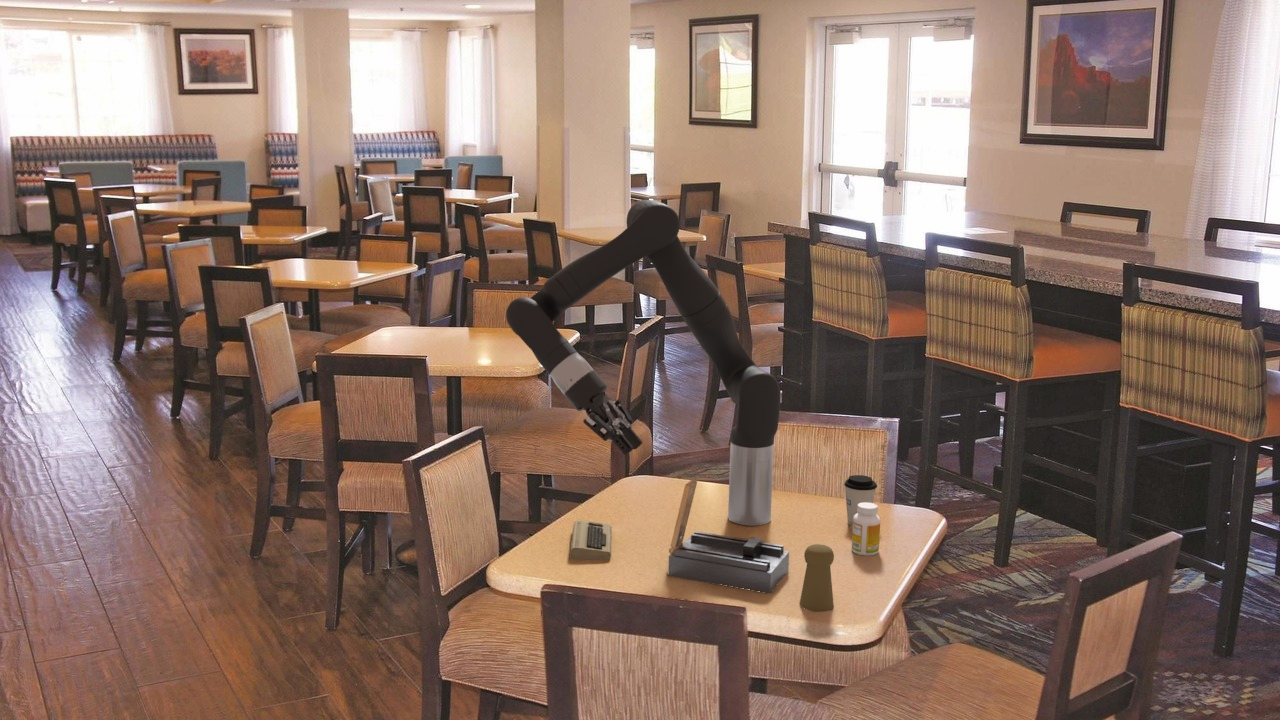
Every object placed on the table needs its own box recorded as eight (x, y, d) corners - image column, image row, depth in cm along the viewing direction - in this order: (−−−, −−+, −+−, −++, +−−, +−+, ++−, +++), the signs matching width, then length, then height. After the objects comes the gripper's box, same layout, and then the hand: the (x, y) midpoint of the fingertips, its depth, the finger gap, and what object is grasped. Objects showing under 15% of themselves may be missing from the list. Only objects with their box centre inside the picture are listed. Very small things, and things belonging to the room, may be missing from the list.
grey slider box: (690, 554, 233) (691, 521, 231) (788, 571, 225) (789, 536, 223) (668, 575, 222) (669, 540, 220) (769, 593, 214) (771, 557, 213)
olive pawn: (796, 598, 212) (799, 540, 210) (829, 597, 213) (832, 540, 211) (803, 612, 206) (806, 553, 204) (837, 611, 207) (840, 552, 205)
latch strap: (682, 548, 228) (675, 546, 229) (698, 481, 224) (692, 478, 225) (674, 555, 225) (668, 553, 225) (691, 487, 221) (684, 484, 221)
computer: (611, 562, 229) (611, 546, 228) (569, 562, 229) (569, 546, 228) (611, 534, 244) (611, 519, 244) (572, 534, 244) (572, 518, 244)
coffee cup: (878, 520, 254) (881, 476, 252) (870, 530, 248) (873, 485, 246) (846, 515, 257) (849, 471, 255) (838, 525, 251) (840, 480, 249)
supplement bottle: (880, 548, 238) (883, 502, 236) (876, 557, 233) (879, 511, 231) (853, 545, 239) (856, 499, 237) (849, 554, 234) (852, 507, 232)
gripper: (574, 376, 221) (632, 447, 218) (606, 362, 233) (661, 429, 231) (549, 401, 224) (606, 470, 222) (581, 385, 236) (636, 451, 234)
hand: (634, 448), depth 226 cm, fingers open, 3 cm apart
